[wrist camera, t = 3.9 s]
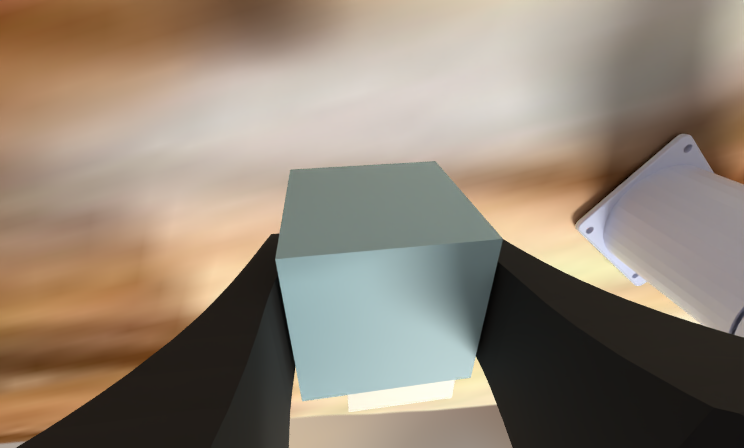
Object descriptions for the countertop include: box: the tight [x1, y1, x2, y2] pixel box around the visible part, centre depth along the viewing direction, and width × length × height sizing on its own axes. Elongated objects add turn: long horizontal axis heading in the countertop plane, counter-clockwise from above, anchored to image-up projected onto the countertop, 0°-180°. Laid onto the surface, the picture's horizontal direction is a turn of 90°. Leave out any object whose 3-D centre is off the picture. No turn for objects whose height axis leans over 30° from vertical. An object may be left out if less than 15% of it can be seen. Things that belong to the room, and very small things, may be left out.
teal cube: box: [275, 161, 503, 401], centre depth 9 cm, size 4×4×4 cm
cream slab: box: [348, 380, 455, 412], centre depth 22 cm, size 7×7×2 cm
